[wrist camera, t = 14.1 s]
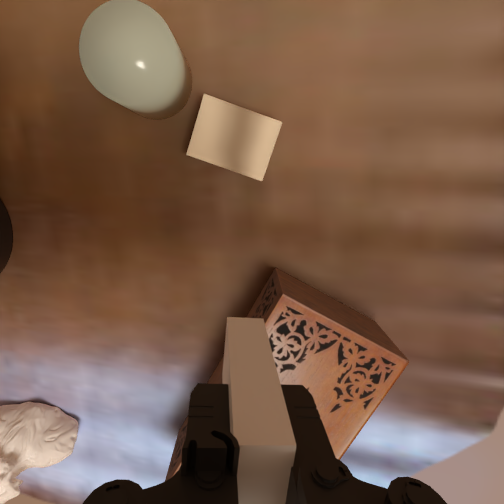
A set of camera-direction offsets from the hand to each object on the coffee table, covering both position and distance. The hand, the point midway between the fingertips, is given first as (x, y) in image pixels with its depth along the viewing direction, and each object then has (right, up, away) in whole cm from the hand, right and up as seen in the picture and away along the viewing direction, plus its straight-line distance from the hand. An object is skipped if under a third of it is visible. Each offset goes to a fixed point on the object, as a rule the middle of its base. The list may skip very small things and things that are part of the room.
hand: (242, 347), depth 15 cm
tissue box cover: (+3, -12, +32) cm, 34 cm away
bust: (-27, -18, +33) cm, 46 cm away
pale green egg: (-10, +23, +24) cm, 34 cm away
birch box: (-1, +16, +25) cm, 30 cm away
